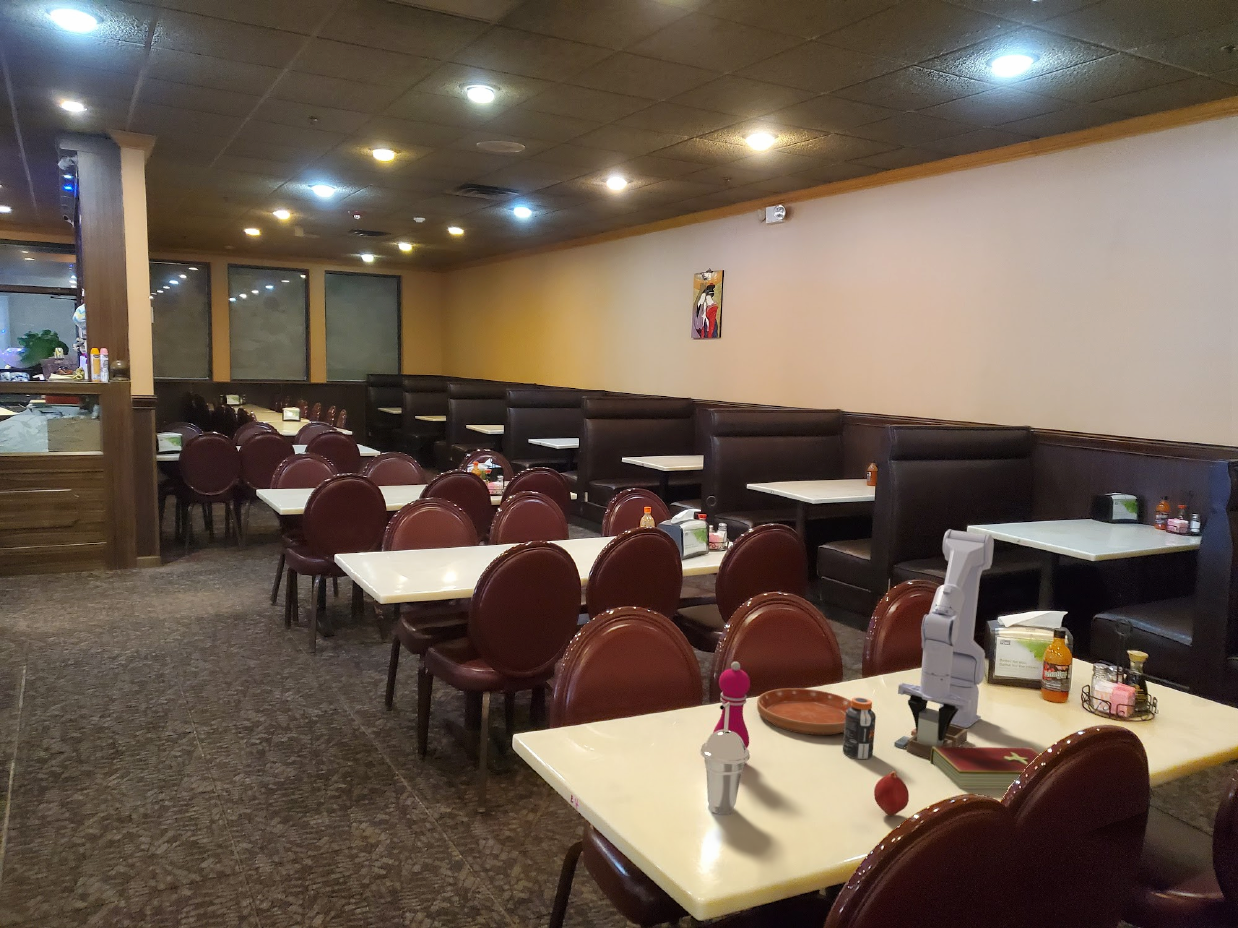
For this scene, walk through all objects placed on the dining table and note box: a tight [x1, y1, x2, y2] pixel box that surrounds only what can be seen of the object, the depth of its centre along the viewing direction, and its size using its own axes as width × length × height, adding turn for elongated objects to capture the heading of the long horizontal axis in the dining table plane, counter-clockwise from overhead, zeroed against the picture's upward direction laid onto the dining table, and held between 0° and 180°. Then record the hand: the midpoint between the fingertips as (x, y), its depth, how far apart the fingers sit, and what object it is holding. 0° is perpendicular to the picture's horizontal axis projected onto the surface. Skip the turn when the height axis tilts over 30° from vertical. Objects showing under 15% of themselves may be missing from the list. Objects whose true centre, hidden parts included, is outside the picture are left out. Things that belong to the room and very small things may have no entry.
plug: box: [917, 707, 943, 747], centre depth 186 cm, size 4×4×7 cm
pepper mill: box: [712, 661, 751, 765], centre depth 175 cm, size 7×7×20 cm
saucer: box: [756, 687, 852, 736], centre depth 201 cm, size 23×23×4 cm
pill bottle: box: [842, 696, 877, 760], centre depth 182 cm, size 6×6×11 cm
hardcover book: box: [929, 746, 1040, 790], centre depth 176 cm, size 12×21×4 cm, turn 96°
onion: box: [873, 771, 910, 817], centre depth 156 cm, size 6×6×8 cm
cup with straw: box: [699, 701, 751, 815], centre depth 155 cm, size 8×9×20 cm
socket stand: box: [893, 724, 968, 760], centre depth 190 cm, size 16×10×2 cm, turn 140°
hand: (930, 735), depth 186 cm, fingers closed on plug, 4 cm apart
